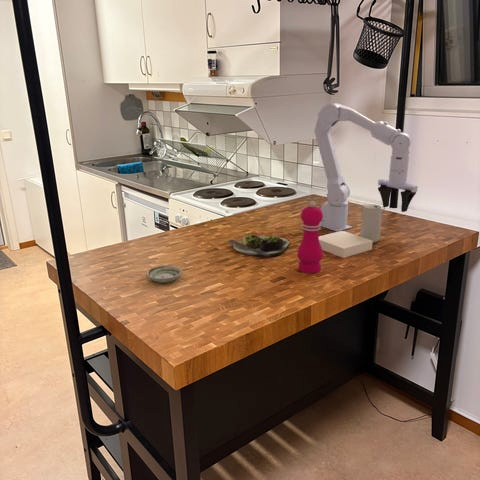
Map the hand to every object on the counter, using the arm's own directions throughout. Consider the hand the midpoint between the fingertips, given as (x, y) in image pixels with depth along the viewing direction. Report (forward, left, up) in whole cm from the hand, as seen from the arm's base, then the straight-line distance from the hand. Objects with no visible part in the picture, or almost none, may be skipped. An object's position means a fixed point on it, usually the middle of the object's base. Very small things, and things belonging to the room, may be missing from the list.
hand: (394, 209), depth 163 cm
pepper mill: (+7, -46, -9) cm, 47 cm away
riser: (0, -25, -9) cm, 27 cm away
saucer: (-11, -83, -9) cm, 84 cm away
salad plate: (-15, -46, -10) cm, 49 cm away
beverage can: (0, -12, -9) cm, 15 cm away
